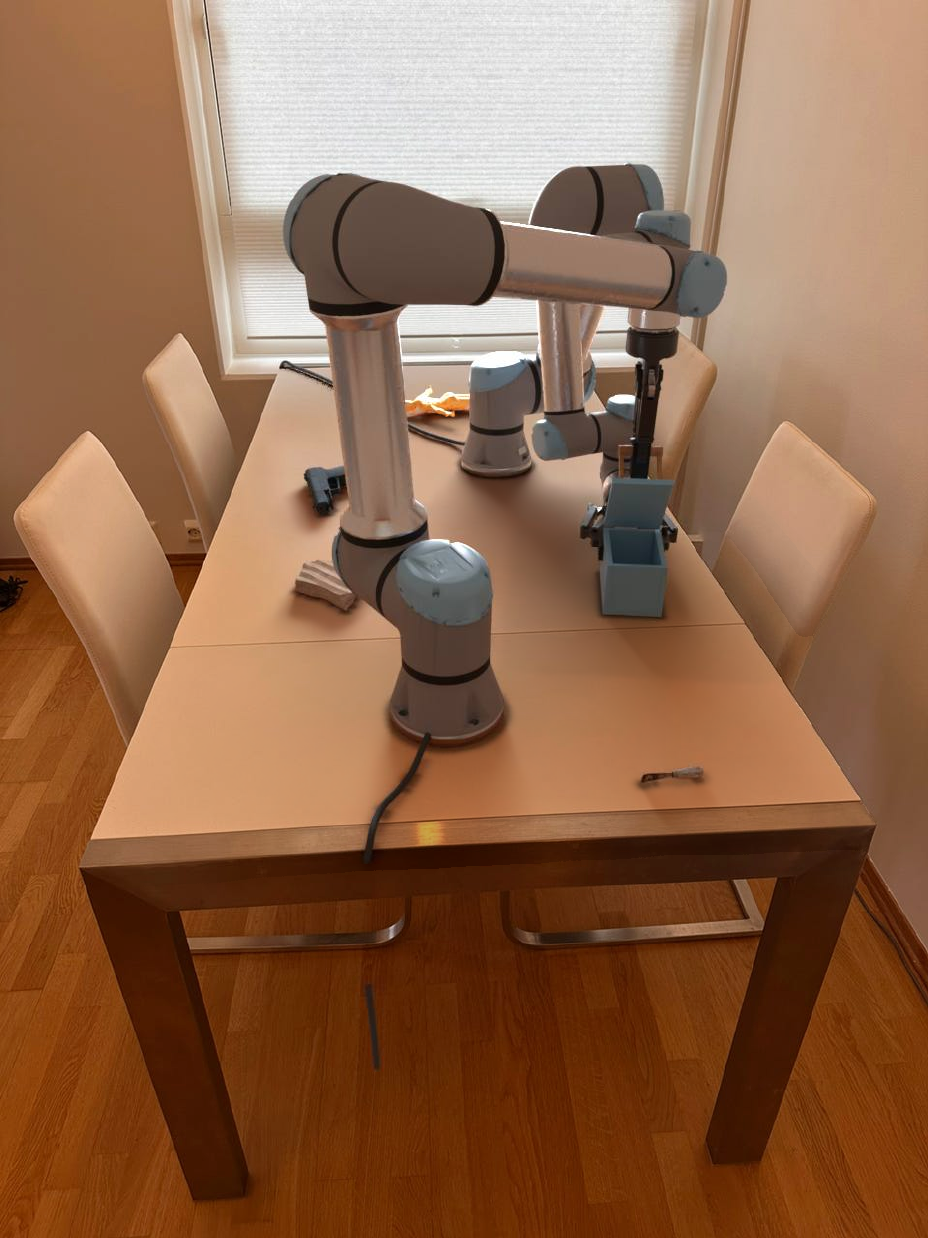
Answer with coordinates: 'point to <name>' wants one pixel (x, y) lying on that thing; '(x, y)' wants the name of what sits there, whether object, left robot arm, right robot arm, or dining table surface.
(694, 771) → the putty knife
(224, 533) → the dining table surface
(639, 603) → the chest
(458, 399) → the human figure
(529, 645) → the dining table surface
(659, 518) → the lid
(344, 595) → the stone
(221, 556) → the dining table surface
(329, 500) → the handgun
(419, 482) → the dining table surface
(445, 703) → the left robot arm
